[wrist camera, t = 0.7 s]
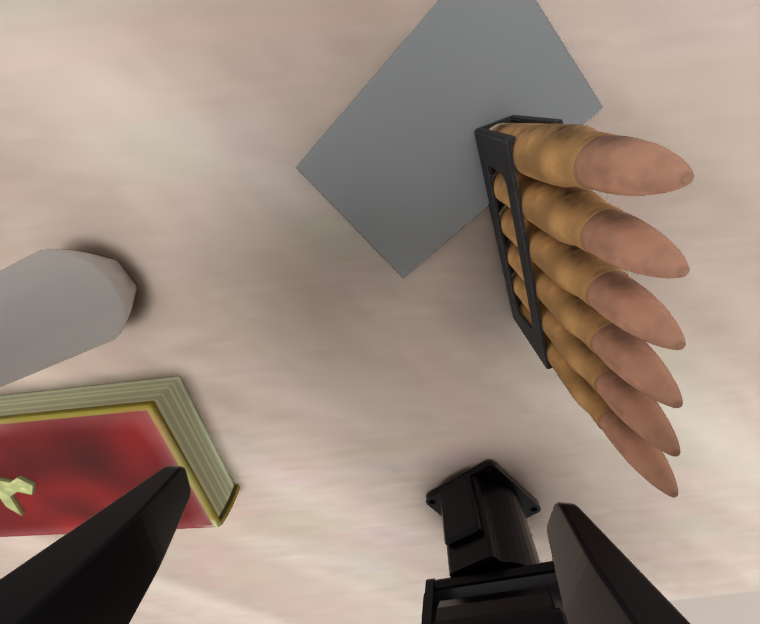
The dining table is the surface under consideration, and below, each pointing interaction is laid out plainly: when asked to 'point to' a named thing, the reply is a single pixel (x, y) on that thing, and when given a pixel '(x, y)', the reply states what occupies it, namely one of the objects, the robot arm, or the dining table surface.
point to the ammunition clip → (590, 272)
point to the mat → (441, 122)
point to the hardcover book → (103, 454)
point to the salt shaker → (59, 309)
